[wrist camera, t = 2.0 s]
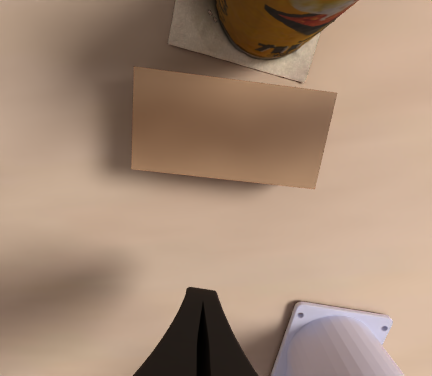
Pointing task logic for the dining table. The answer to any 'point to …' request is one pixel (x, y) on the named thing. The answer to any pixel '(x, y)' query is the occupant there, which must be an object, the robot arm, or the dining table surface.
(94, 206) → the dining table surface
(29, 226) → the dining table surface
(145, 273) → the dining table surface
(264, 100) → the tan rectangular block
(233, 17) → the condiment
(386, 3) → the dining table surface
